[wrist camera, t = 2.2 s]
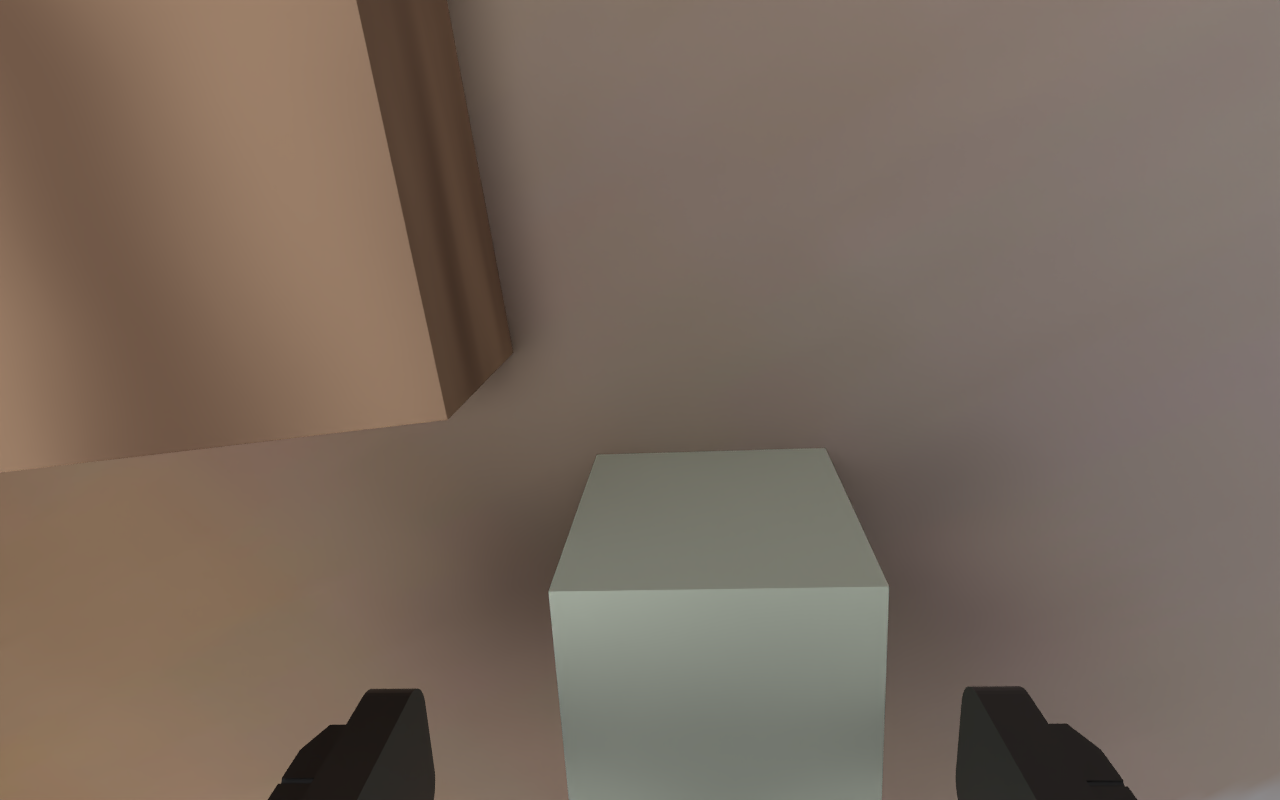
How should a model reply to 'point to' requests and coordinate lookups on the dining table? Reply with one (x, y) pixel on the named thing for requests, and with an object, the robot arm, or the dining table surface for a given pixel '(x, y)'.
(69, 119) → the walnut block
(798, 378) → the dining table surface
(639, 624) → the sage cube
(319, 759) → the robot arm
